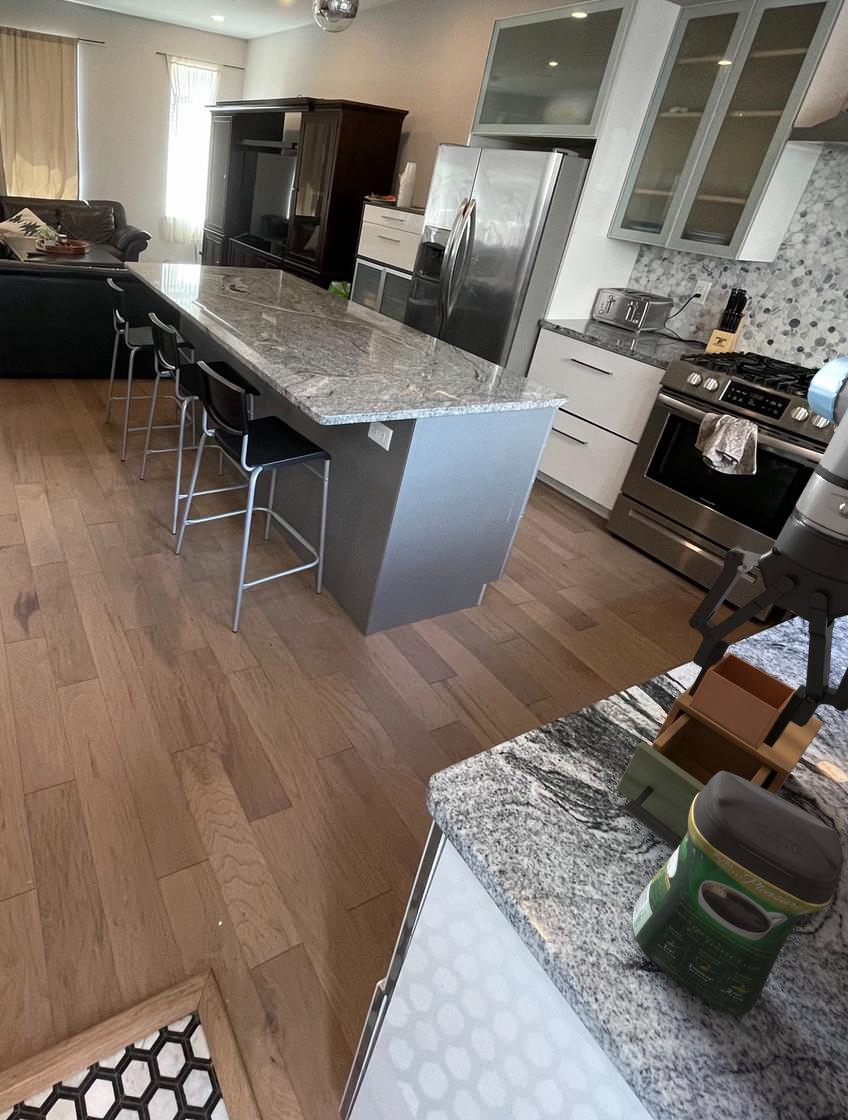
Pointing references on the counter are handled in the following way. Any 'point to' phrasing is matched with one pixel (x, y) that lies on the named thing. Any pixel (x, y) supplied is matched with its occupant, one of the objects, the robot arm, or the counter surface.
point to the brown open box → (741, 699)
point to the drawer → (681, 775)
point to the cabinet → (777, 757)
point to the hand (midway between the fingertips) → (732, 714)
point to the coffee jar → (735, 891)
